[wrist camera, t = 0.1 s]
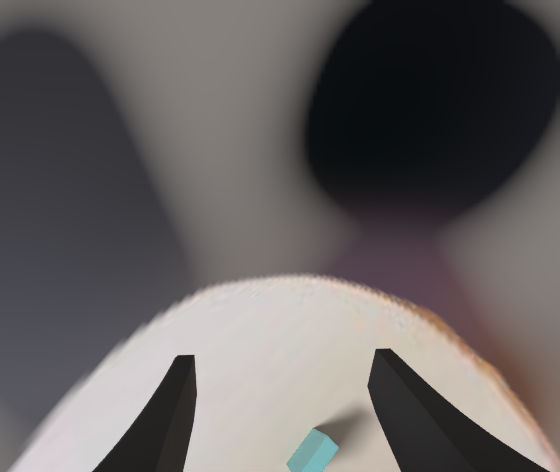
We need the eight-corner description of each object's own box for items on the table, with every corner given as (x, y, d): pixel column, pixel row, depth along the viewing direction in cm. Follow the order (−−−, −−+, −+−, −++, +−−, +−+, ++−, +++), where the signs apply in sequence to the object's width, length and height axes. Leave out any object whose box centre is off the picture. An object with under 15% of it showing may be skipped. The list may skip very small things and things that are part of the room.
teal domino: (322, 437, 40) (338, 447, 33) (296, 474, 38) (308, 492, 31) (313, 427, 40) (327, 435, 34) (286, 463, 38) (296, 479, 32)
